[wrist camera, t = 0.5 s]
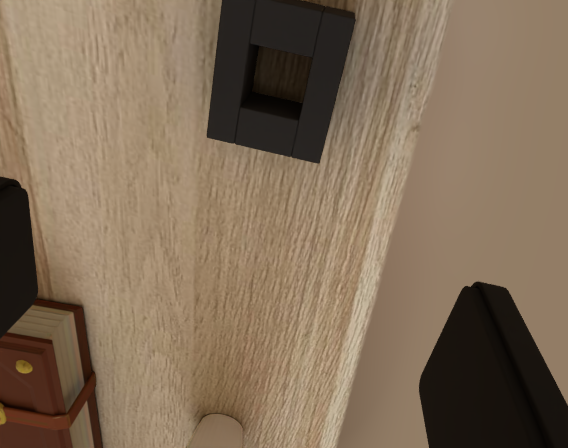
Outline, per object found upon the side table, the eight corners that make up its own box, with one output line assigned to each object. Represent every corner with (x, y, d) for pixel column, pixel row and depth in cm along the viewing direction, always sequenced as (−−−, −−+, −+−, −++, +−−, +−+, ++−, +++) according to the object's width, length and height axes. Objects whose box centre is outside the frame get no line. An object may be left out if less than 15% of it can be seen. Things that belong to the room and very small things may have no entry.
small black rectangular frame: (221, 119, 26) (205, 137, 24) (238, -14, 23) (223, -12, 20) (322, 142, 26) (319, 164, 23) (354, 12, 23) (356, 18, 20)
